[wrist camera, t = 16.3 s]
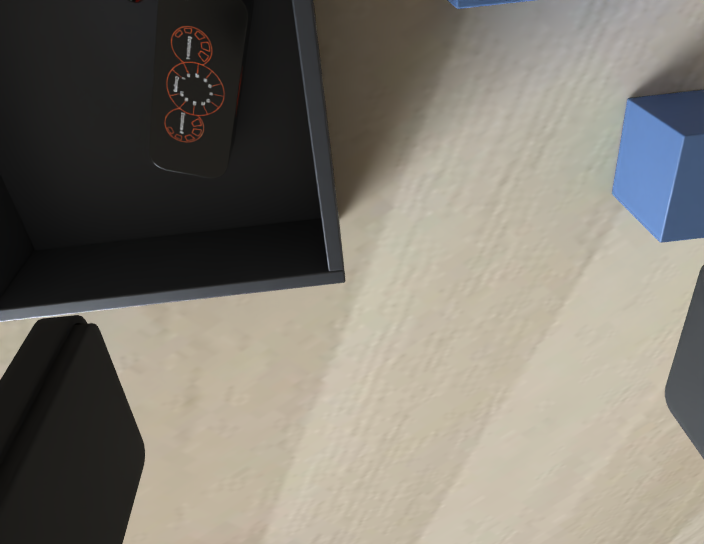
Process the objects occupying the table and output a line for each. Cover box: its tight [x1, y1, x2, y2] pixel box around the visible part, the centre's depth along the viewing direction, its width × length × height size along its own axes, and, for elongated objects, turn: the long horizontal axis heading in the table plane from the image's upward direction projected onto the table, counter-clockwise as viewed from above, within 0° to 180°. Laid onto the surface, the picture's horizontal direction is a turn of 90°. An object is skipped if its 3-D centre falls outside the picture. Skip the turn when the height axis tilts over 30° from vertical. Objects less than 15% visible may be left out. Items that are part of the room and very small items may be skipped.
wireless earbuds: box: [128, 0, 254, 178], centre depth 21 cm, size 5×7×3 cm, turn 166°
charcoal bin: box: [0, 0, 345, 322], centre depth 21 cm, size 14×14×5 cm
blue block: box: [612, 90, 704, 242], centre depth 24 cm, size 4×4×4 cm
